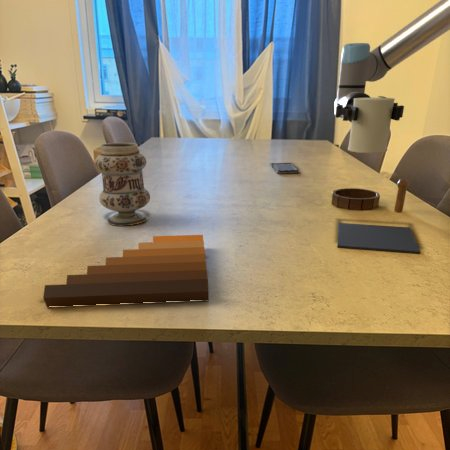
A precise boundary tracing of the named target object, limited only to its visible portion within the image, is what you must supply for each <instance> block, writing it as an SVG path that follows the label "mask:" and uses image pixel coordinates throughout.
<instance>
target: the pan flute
mask: <svg viewBox="0 0 450 450" xmlns="http://www.w3.org/2000/svg"><path fill="white" fill-rule="evenodd" d="M205 251H206V250H205V241H204V234H180V235H153V236H152V241H149V242H138V248H137V249H136V248H135V249H134V248H133V249H123V250H122V256H109V257H108V256H107V257H105V264H103V265H101V264H100V265H87V266H86V273H85V274H84V273H83V274H67V275H66V283H64V284H45V285H44V290H43V291H44V292H43V296H42V297H43V301H44V304H45V306H46V308H47V307H49V306H73V305H96V304H120V303H143V302H166V301H190V300H210V299H209V298H210V295H209V278H208V270H207V261H206V252H205Z"/></svg>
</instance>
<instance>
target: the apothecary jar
mask: <svg viewBox="0 0 450 450" xmlns="http://www.w3.org/2000/svg"><path fill="white" fill-rule="evenodd" d="M94 165H95V168H96V169H97V170H98V171H100V172H101V178H102V179H101V180H102V191H101V192H100V194H99V198H98V200H99V203H100V205H101V206H102V207H104V208H106V209H108V210H110V211H113V212H117V213H114V214H113V215H111V216H110V217H108V219H107V223H108V222H109V223H110V224H109V223H108V224H109V225H111V224H114V225H113V226H115V225H131V226H134V225H133V224H137V225H140V224H139V223H141V224H143V223H142V222H144V223H145V222H147V221H148V216H147V215H146V214H145V213H141V212H138V211H137V210H140V209H142V208H144V207H145V206H147V205H148V204H149V203H150V201H151V194H150V191H148V189H147V188H145V183H144V175H143V170H144V168H145V167H146V165H147V158H146V156H145V155H144V154H143V153H141V152H140V148H139V145H138V144H137V143H136V142H109V143H102V144H100V151H99V154H98V155H97V156H96V157H95V160H94ZM146 220H147V221H146Z"/></svg>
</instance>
